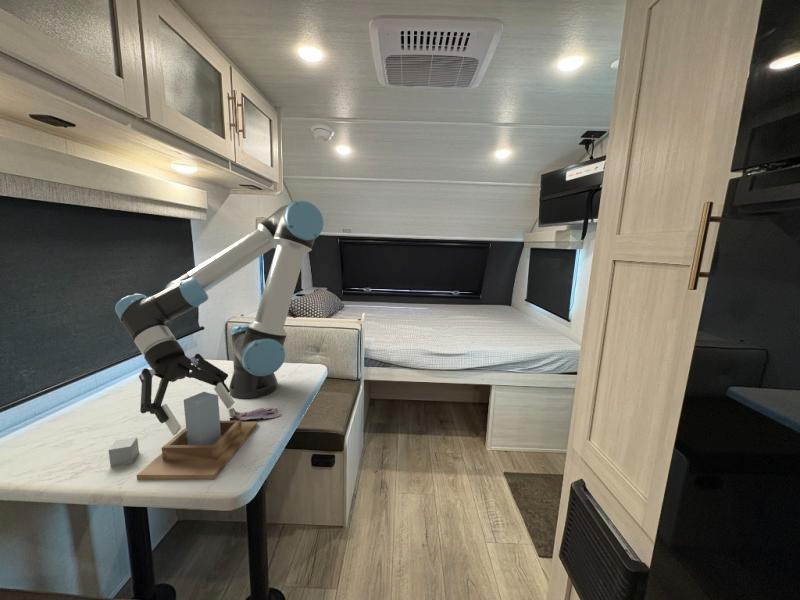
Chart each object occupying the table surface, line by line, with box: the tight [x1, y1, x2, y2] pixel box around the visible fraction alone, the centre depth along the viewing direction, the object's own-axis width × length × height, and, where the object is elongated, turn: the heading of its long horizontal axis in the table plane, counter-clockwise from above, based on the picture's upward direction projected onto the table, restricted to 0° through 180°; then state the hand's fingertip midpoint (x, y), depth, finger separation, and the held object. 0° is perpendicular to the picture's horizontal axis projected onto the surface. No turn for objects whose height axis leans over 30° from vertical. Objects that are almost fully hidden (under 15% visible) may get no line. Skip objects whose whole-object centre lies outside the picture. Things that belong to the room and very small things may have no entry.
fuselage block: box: [183, 391, 221, 445], centre depth 79 cm, size 5×5×12 cm
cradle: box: [136, 420, 259, 480], centre depth 80 cm, size 22×16×4 cm
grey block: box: [108, 436, 140, 467], centre depth 76 cm, size 4×4×4 cm
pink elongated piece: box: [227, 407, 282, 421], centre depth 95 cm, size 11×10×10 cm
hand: (206, 417), depth 78 cm, fingers open, 13 cm apart
